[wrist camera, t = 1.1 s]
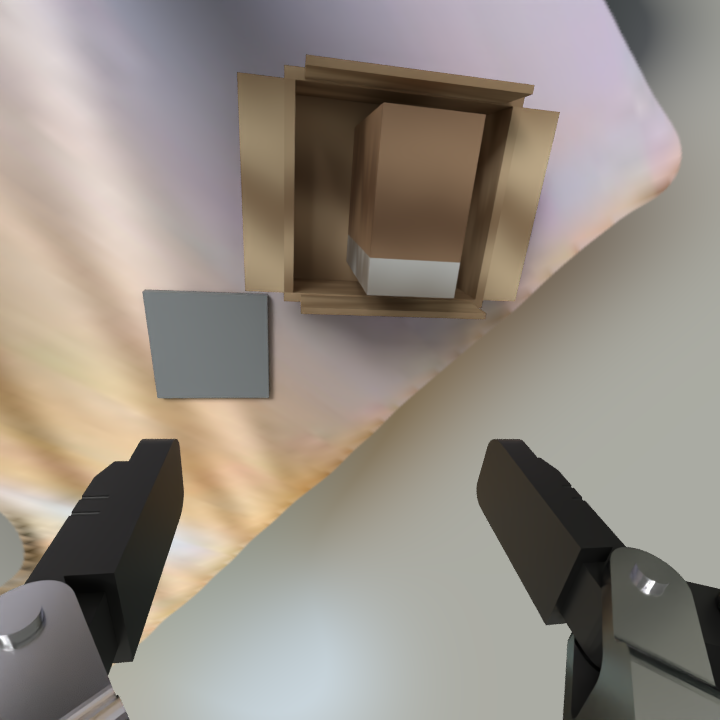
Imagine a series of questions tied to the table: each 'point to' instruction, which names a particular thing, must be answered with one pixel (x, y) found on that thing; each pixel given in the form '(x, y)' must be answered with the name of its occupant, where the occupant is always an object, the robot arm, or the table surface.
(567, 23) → the table surface
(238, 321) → the felt mat
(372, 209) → the walnut block
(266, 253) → the kraft carton
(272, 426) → the table surface
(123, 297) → the table surface
